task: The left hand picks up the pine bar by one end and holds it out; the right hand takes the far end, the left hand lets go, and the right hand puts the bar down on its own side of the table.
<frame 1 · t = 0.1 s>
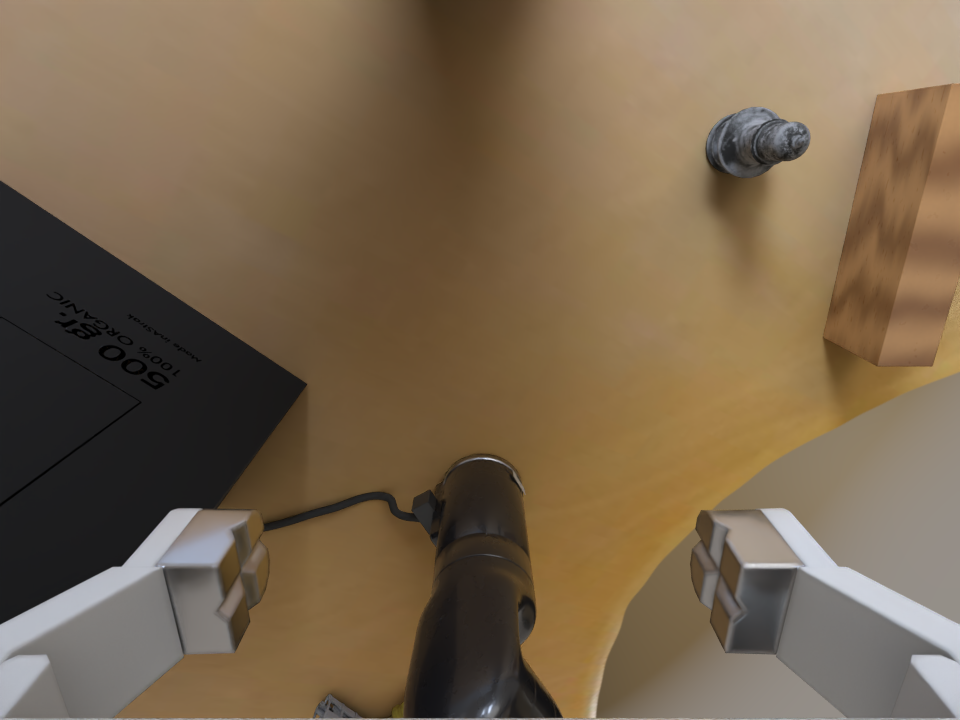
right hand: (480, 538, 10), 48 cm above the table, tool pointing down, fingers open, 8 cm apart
cardboard box: (108, 352, 60), on the table
grey chess piece: (733, 143, 53), on the table
toy gun: (416, 718, 79), on the table
bar: (873, 224, 55), on the table
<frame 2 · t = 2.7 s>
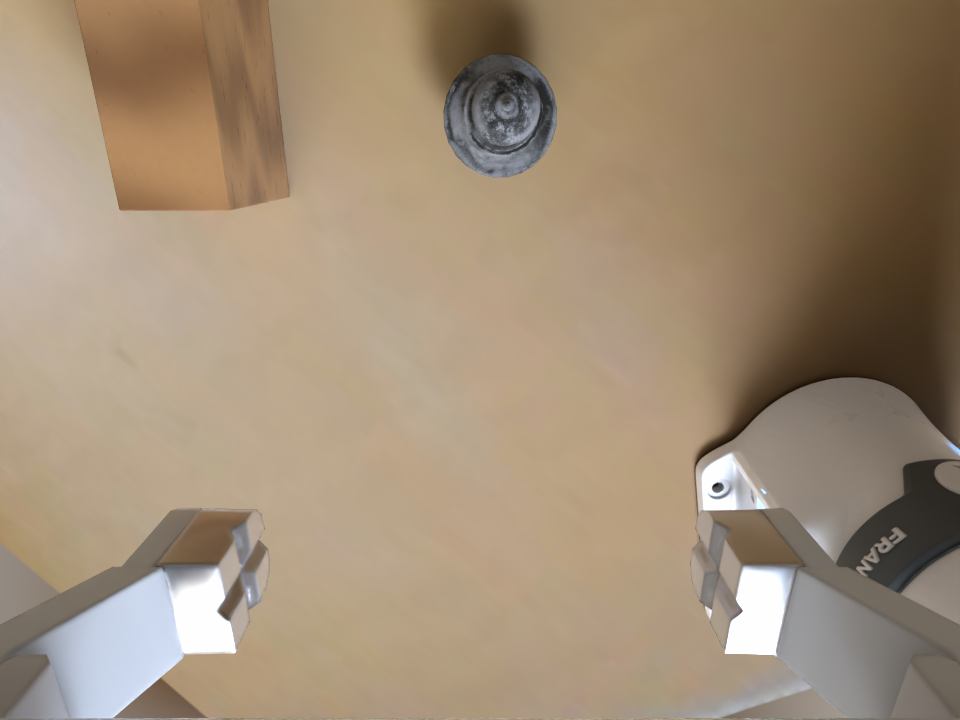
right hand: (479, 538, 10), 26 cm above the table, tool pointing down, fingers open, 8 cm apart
grey chess piece: (497, 121, 32), on the table
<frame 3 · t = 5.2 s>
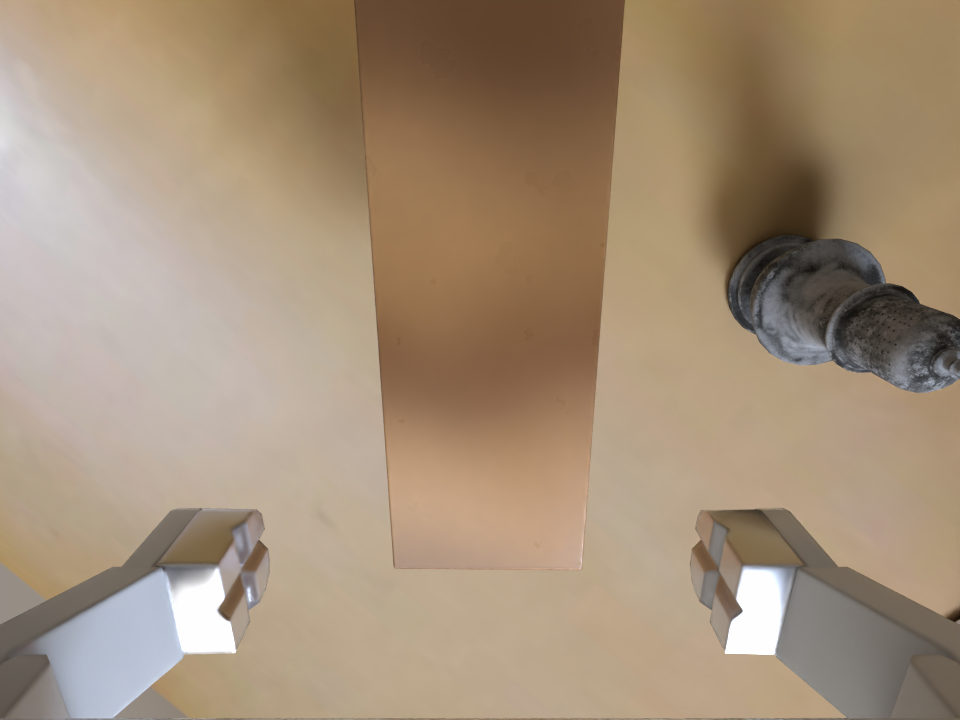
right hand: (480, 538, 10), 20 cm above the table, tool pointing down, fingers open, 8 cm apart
grey chess piece: (778, 286, 29), on the table
bar: (489, 115, 19), point 8 cm above the table, touching left hand
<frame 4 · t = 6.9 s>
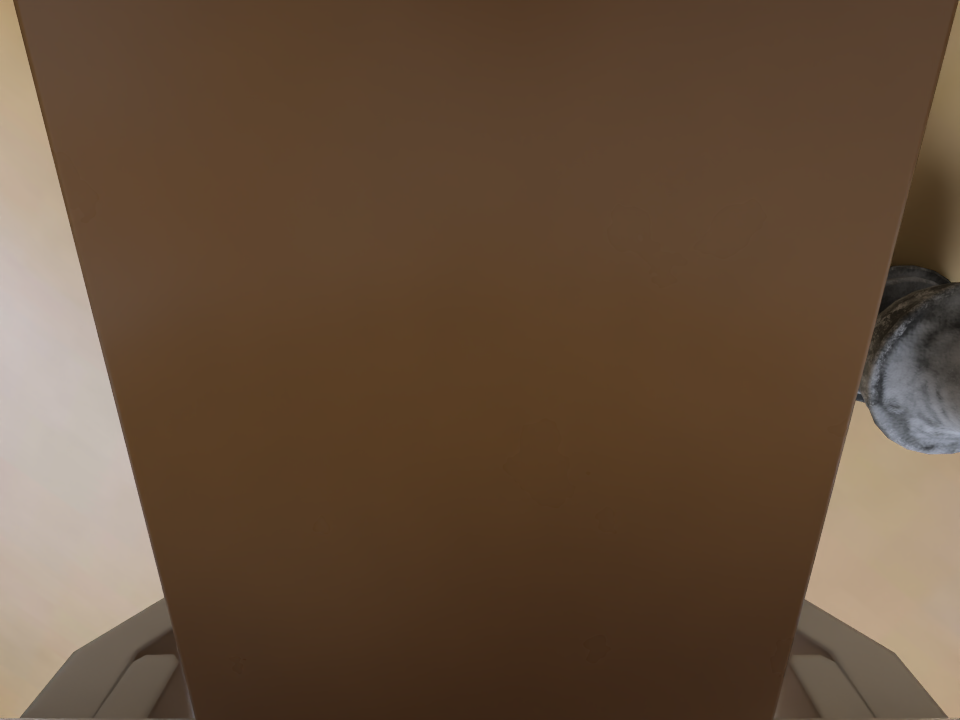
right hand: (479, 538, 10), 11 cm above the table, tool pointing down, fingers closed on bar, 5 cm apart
grey chess piece: (883, 334, 21), on the table
bar: (482, 83, 11), point 8 cm above the table, touching right hand, left hand
when the left hand's fingers open (12 cm above the table, at t = 7.9 s): bar stays where it is, held by the right hand.
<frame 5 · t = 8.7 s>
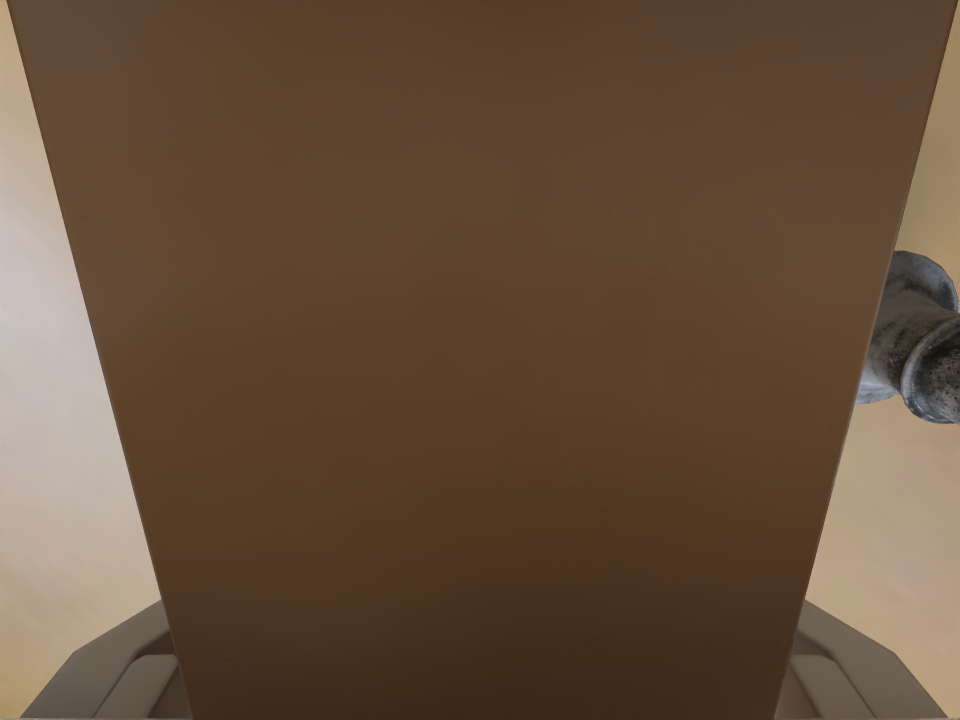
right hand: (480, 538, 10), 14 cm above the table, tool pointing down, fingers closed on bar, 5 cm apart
grey chess piece: (816, 304, 24), on the table
bar: (481, 82, 11), point 11 cm above the table, touching right hand
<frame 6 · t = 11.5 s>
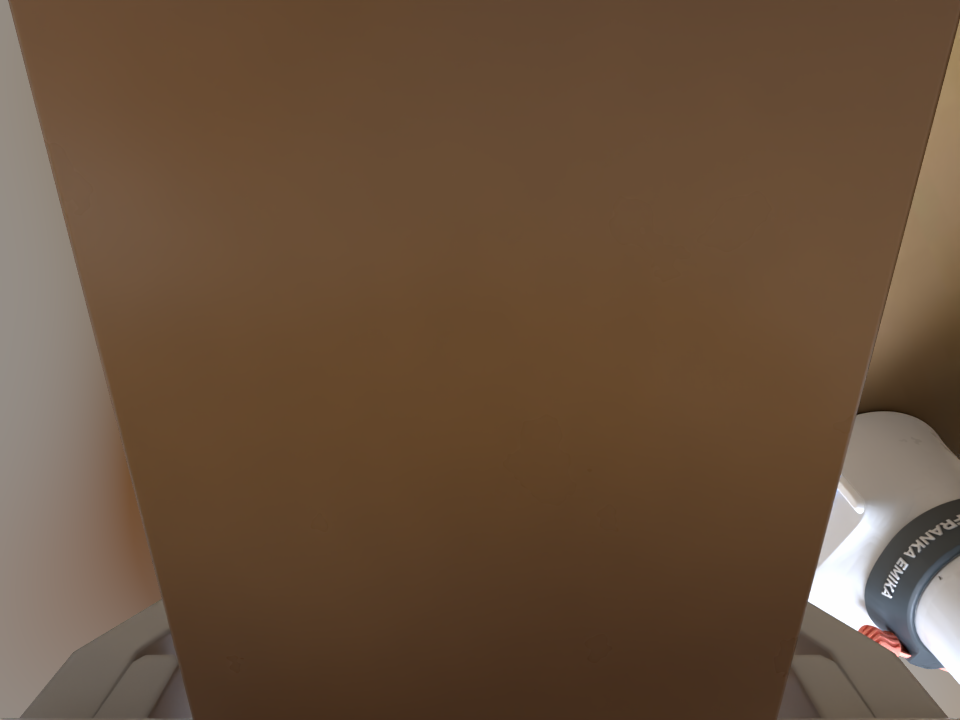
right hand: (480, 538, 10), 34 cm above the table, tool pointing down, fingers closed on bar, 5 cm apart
bar: (482, 80, 11), point 31 cm above the table, touching right hand
when the right hand's fingers open (5 cm above the table, at t = 16.4 s): bar stays where it is, on the table.
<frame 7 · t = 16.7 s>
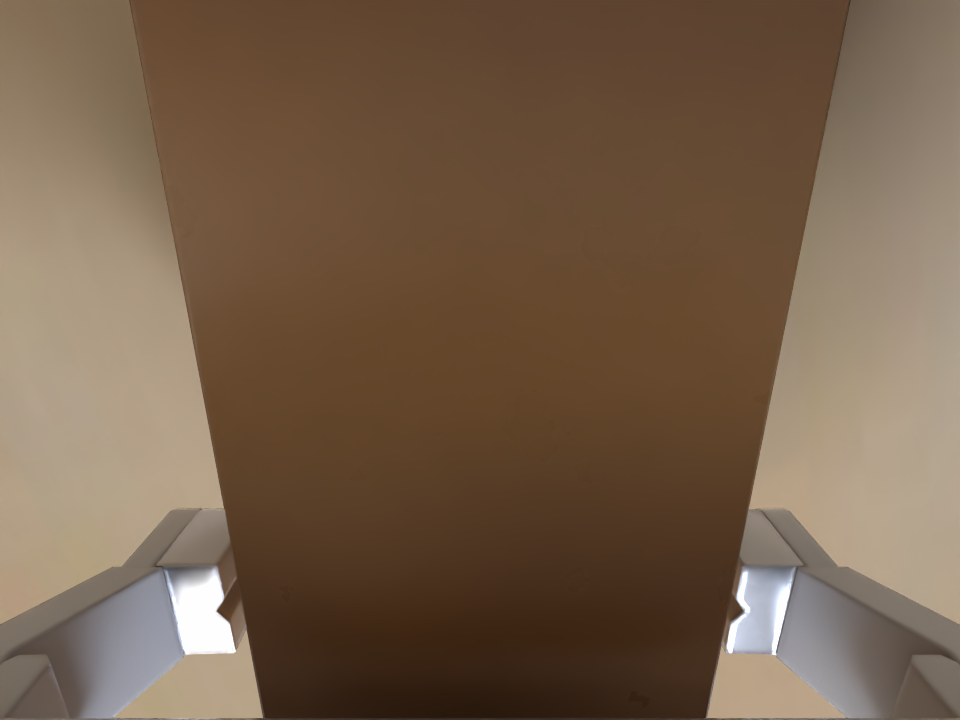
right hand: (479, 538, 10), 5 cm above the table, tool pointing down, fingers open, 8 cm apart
bar: (482, 103, 12), on the table
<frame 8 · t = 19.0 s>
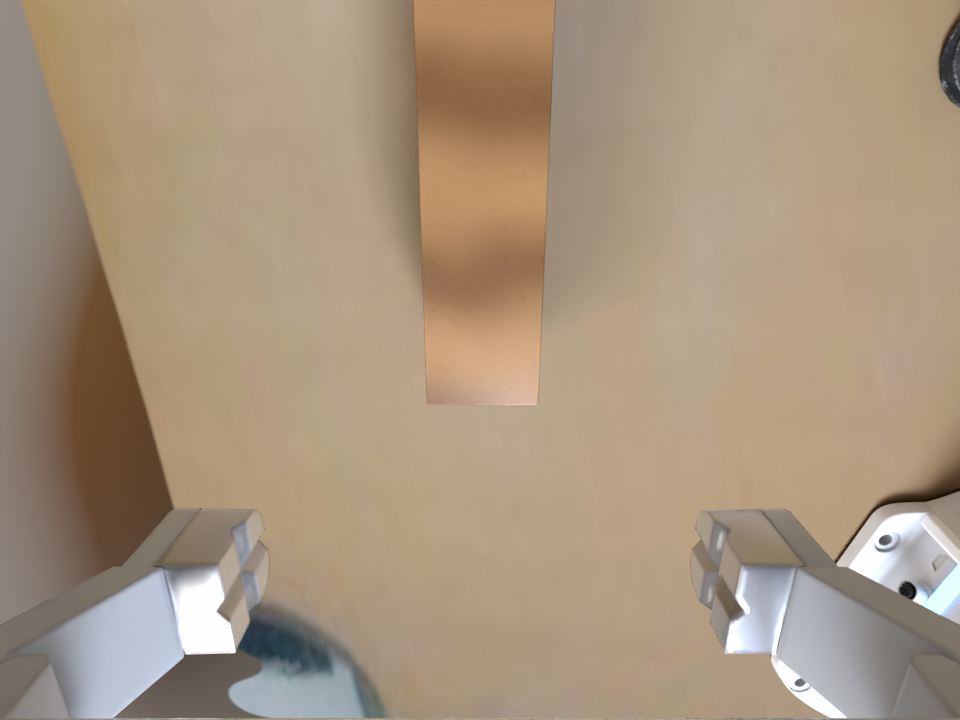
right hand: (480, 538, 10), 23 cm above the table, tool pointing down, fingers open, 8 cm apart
bar: (483, 133, 29), on the table
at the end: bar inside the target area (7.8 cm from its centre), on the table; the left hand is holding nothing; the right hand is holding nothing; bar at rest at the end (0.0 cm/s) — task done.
